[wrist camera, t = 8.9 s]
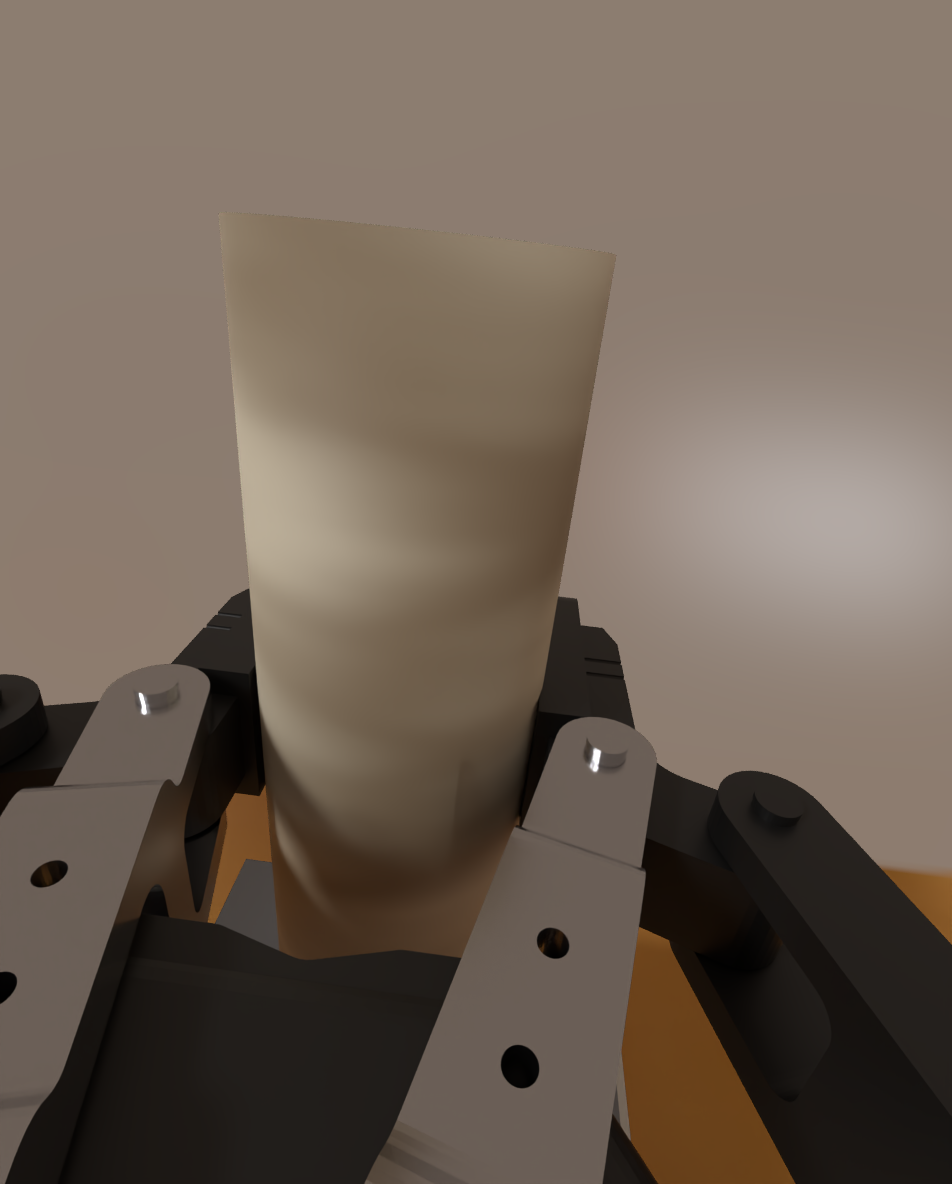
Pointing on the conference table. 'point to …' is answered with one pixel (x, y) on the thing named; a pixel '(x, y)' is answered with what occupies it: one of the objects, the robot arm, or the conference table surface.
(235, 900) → the dowel dock
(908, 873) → the conference table surface
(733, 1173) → the conference table surface
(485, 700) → the dowel
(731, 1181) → the conference table surface
